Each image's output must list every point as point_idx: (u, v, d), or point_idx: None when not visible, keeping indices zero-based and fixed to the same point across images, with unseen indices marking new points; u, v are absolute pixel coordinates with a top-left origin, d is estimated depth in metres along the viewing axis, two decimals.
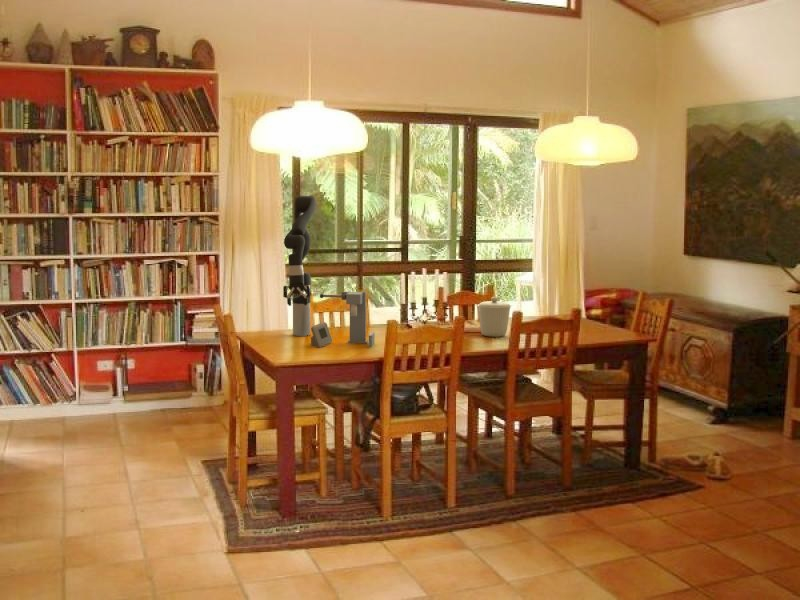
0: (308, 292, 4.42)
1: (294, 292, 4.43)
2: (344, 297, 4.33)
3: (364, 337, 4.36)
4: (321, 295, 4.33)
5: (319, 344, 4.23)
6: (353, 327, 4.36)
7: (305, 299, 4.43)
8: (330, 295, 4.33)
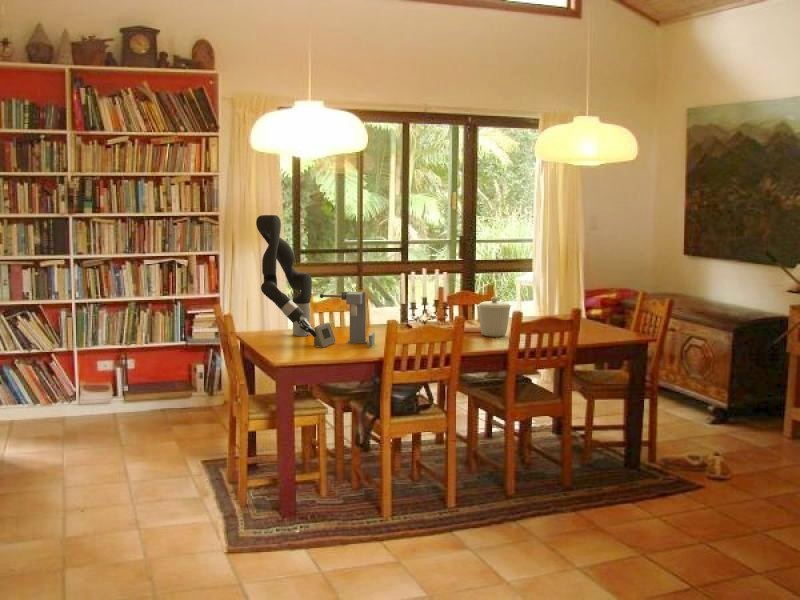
0: (304, 330, 4.27)
1: None
2: (344, 297, 4.33)
3: (364, 337, 4.36)
4: (321, 295, 4.33)
5: (322, 344, 4.23)
6: (353, 327, 4.36)
7: (310, 333, 4.30)
8: (330, 295, 4.33)
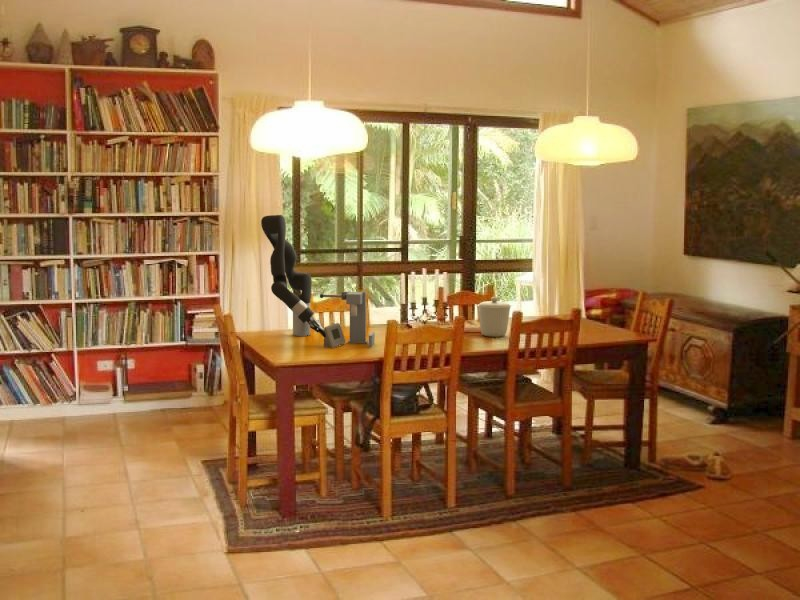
0: None
1: None
2: (344, 297, 4.33)
3: (364, 337, 4.36)
4: (321, 295, 4.33)
5: (332, 345, 4.22)
6: (353, 327, 4.36)
7: (320, 333, 4.30)
8: (330, 295, 4.33)
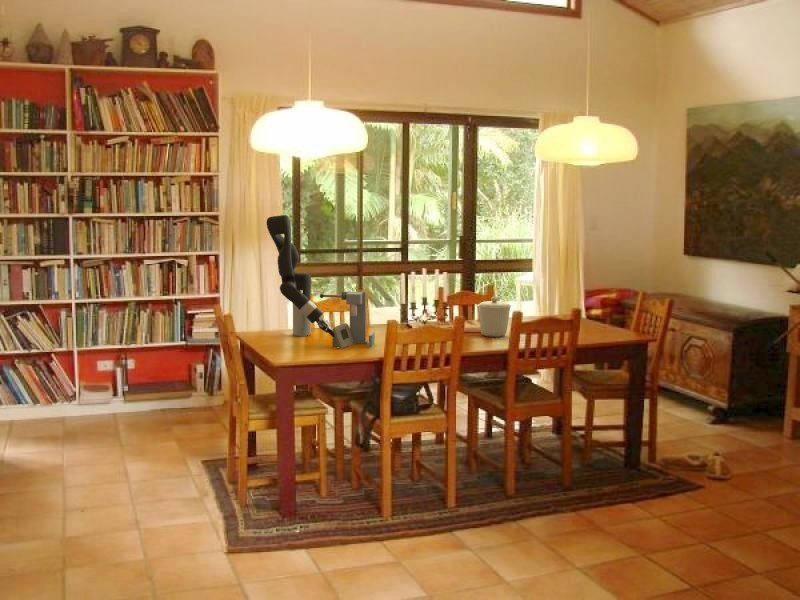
0: None
1: None
2: (344, 297, 4.33)
3: (364, 337, 4.36)
4: (321, 295, 4.33)
5: (341, 345, 4.21)
6: (353, 327, 4.36)
7: (329, 333, 4.29)
8: (330, 295, 4.33)
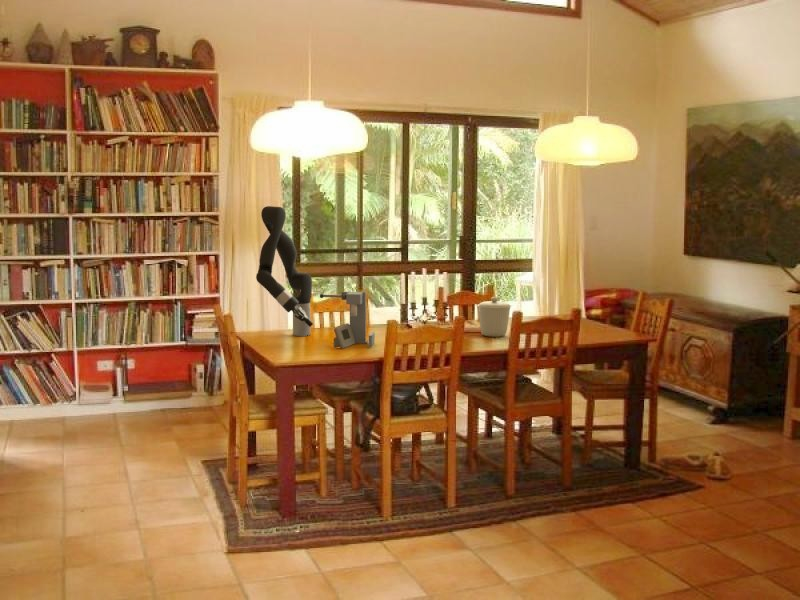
0: None
1: None
2: (344, 297, 4.33)
3: (364, 337, 4.36)
4: (321, 295, 4.33)
5: (342, 345, 4.20)
6: (353, 327, 4.36)
7: (305, 322, 4.31)
8: (330, 295, 4.33)
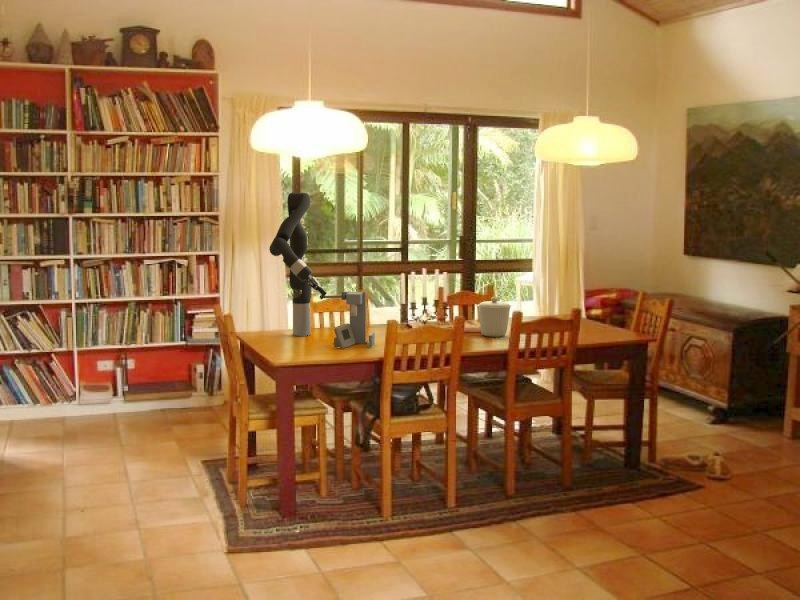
0: None
1: None
2: (344, 297, 4.33)
3: (364, 337, 4.36)
4: (321, 296, 4.33)
5: (342, 345, 4.20)
6: (353, 327, 4.36)
7: (319, 291, 4.34)
8: (330, 296, 4.33)
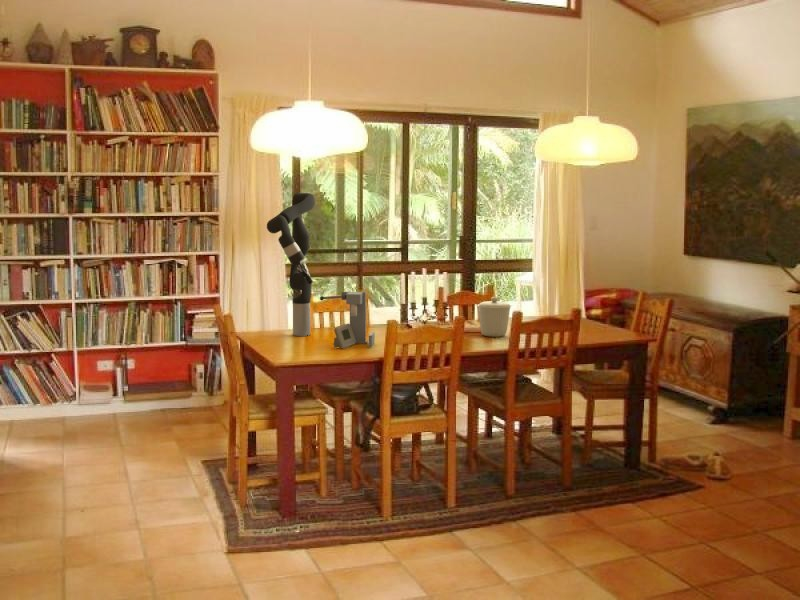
0: (301, 274, 4.31)
1: None
2: (344, 297, 4.33)
3: (364, 337, 4.36)
4: (321, 297, 4.33)
5: (342, 345, 4.20)
6: (353, 327, 4.36)
7: (306, 278, 4.34)
8: (330, 296, 4.33)
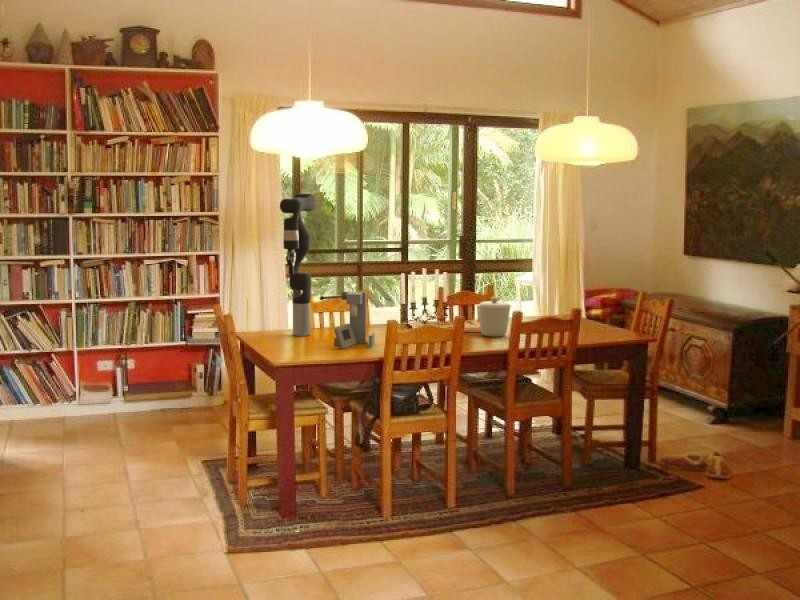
0: (287, 262, 4.28)
1: None
2: (344, 297, 4.33)
3: (364, 337, 4.36)
4: (321, 297, 4.33)
5: (342, 346, 4.20)
6: (353, 327, 4.36)
7: (289, 267, 4.31)
8: (330, 296, 4.33)
